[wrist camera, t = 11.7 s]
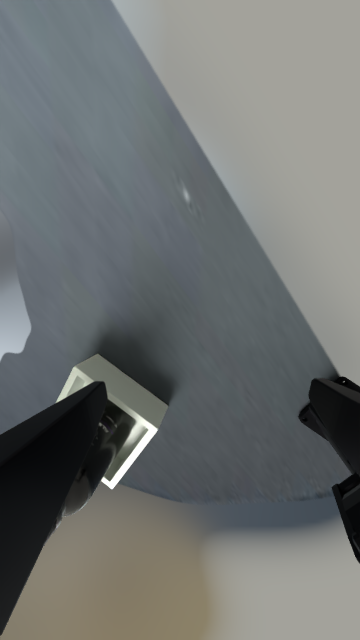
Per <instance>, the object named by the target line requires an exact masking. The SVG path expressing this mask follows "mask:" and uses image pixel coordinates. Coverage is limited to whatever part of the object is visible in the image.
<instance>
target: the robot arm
mask: <svg viewBox="0 0 360 640" xmlns="http://www.w3.org/2000/svg"><path fill="white" fill-rule="evenodd" d="M343 381H345V382H344V383H342V382H343ZM309 399H310V402H311V404H310V405H309V406H308V407H307V408H306V409H305V410H303V411H302V412H301V413H300V414H299V416H298V418H299V420H300V421H301V422H302V423H303V424H304V425H306V426H307V427H309V428H310V429H312V430H313V431H314V432H316V433H317V434H319V435H320V436H322V437H323V438H325V439H326V440H327V441H329V442H330V444H331V445H332V447H333V448H334V449H335V451H336V452H337V454H338V455H339V456H340V458H341V459H342V461H343V462H344V463H345V465H346V466H347V468H348V469H349V470H350V472H351V473H352V475H351V476H349V477H348V478H347V479H345V480H344V481H343V482H341V483H340V484H335V485H334V486H333V487H332V490H333V493H334V496H335V499H336V502H337V505H338V508H339V511H340V514H341V518H342V520H343V524H344V527H345V530H346V533H347V535H348V539H349V541H350V544H351V546H352V549H353V552H354V555H355V557H356V558H357V560H358V562H359V563H360V387H359V386H358V385H356V384H355V383H353V382H352V381H350V380H349V379H347V378H346V377H339V378H337V379H336V380H335V381H334V382H332V381H329V380H327V379H324V378H315V379H313V380H312V381H311V386H310V390H309ZM107 400H108V396H107V390H106V385H105V382H104V381H94V382H92V383H90V384H89V385H87V386H85V387H83V388H82V389H80V390H78V391H76V392H75V393H73V394H71V395H69V396H68V397H66V398H64V399H62V400H61V401H59V402H57V403H55V404H54V405H52V406H50V407H48V408H47V409H45V410H43V411H41V412H40V413H38V414H36V415H34V416H32V417H31V418H29V419H27V420H25V421H24V422H22V423H20V424H18V425H17V426H15V427H13V428H11V429H10V430H8V431H6V432H4V433H3V434H1V435H0V635H2V633H3V630H4V629H5V627H6V625H7V622H8V620H9V618H10V616H11V614H12V612H13V610H14V607H15V605H16V603H17V601H18V599H19V597H20V595H21V593H22V590H23V588H24V586H25V584H26V582H27V580H28V577H29V576H30V573H31V571H32V569H33V567H34V565H35V563H36V560H37V558H38V556H39V554H40V552H41V550H42V548H43V546H44V544H45V541H46V539H47V537H48V535H49V533H50V531H51V529H52V527H53V524H54V522H55V520H56V518H57V516H58V514H59V512H60V509H61V507H62V505H63V503H64V501H65V499H66V497H67V495H68V492H69V490H70V488H71V486H72V484H73V482H74V480H75V478H76V475H77V473H78V471H79V469H80V467H81V465H82V463H83V460H84V458H85V456H86V454H87V452H88V450H89V448H90V446H91V443H92V441H93V439H94V437H95V434H96V431H97V429H98V426H99V423H100V420H101V417H102V415H103V412H104V409H105V406H106V403H107ZM303 418H306V419H303Z"/></svg>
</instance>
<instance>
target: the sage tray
mask: <svg viewBox="0 0 360 640" xmlns="http://www.w3.org/2000/svg"><path fill="white" fill-rule="evenodd" d="M94 381H104V382H105V385H106V390H107V396H108V399H109V400H110V401H112V402H113V403H114V404H116V405H117V406H118V407H120V408H121V409H122V410H123V411H125V412H126V413H127V414H129V415H130V416H131V417H132V418H133V428H132V431H131V434H130V435H129V437H128V439H127V440H126V442H125V444H124V445H123V447H122V448H121V450H120V452H119V453H118V455H117V456H116V458H115V459H114V461H113V463H112V464H111V466H110V467H109V469H108V471H107V472H106V474H105V475H104V477H103V479H102V480H101V481H102V482H103V483H105V484H106V485H107V486H108V487H110V488H111V489H113V488H114V487H115V485H116V484H117V483H118V481H119V480H120V479H121V477H122V476H123V475H124V474H125V472H126V471H127V470H128V468H129V467H130V466H131V464H132V463H133V462H134V460H135V459H136V458H137V457H138V455H139V454H140V453H141V451H142V450H143V449H144V447H145V446H146V445H147V443H148V442H149V441H150V440H151V438H152V437H153V436H154V434H155V433H156V432H157V430H158V429H159V427H160V424H161V422H162V420H163V417H164V415H165V413H166V410H167V408H168V405H167V404H165V403H164V402H163V401H161V400H160V399H158V398H157V397H156V396H154V395H153V394H152V393H150V392H149V391H148V390H146V389H145V388H144V387H142V386H141V385H139V384H138V383H137V382H135V381H134V380H133V379H131V378H130V377H129V376H127V375H126V374H125V373H123V372H122V371H121V370H119V369H118V368H116V367H115V366H114V365H112V364H111V363H110V362H108V361H107V360H106V359H104V358H103V357H102V356H100V355H99V354H96V355H94V356H92V357H90V358H89V359H87V360H85V361H83V362H81V363H79V364H77V365H75V366H74V368H73V370H72V372H71V374H70V376H69V378H68V380H67V382H66V384H65V386H64V388H63V390H62V392H61V394H60V396H59V398H58V400H57V402H59V401H61V400H62V399H64V398H66V397H68V396H69V395H71V394H73V393H75V392H76V391H78V390H80V389H82V388H83V387H85V386H87V385H89V384H90V383H92V382H94ZM57 402H56V403H57Z"/></svg>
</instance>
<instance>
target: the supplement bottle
mask: <svg viewBox="0 0 360 640" xmlns="http://www.w3.org/2000/svg"><path fill="white" fill-rule="evenodd" d="M132 428H133V418H132V417H131V416H130V415H129V414H127V413H126V412H125V411H123V410H122V409H121V408H120V407H118V406H117V405H116V404H114V403H113V402H112V401H110V400H109V399H108V400H107V403H106V406H105V409H104V412H103V415H102V417H101V420H100V423H99V426H98V429H97V431H96V434H95V437H94V439H93V441H92V443H91V446H90V448H89V450H88V452H87V454H86V456H85V458H84V460H83V463H82V465H81V467H80V469H79V471H78V473H77V475H76V478H75V480H74V482H73V484H72V486H71V488H70V490H69V492H68V495H67V497H66V499H65V501H64V503H63V505H62V507H61V509H60V512H59V514H58V516H57V518H56V520H55V522H54V524H53V527H52V529H51V531H50V533H49V535H48V537H47V539H46V541H45V543H46V542H47V541H48V539H49V538H50V536H51V535H52V534H53V533H54V532H55V531H56V529H57V528H58V526H59V525H60V523H61V520H62V517H63V516H69V515H72V514H74V513H76V512H77V511H79V510H80V509H81V508H83V507H84V506H85V505H86V503H87V502H88V501H89V499H90V498H91V496H92V495H93V493H94V491H95V490H96V488H97V487H98V485H99V483H100V482H101V480H102V479H103V477H104V475H105V474H106V472H107V471H108V469H109V467H110V466H111V464H112V463H113V461H114V459H115V458H116V456H117V455H118V453H119V452H120V450H121V448H122V447H123V445H124V444H125V442H126V440H127V439H128V437H129V435H130V434H131V431H132ZM44 545H45V544H44Z"/></svg>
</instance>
